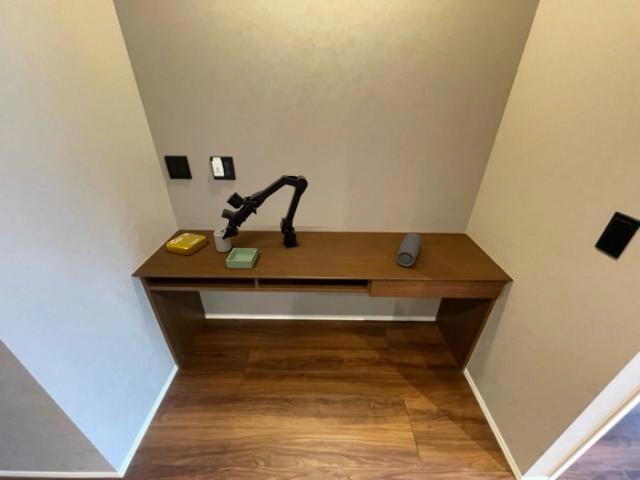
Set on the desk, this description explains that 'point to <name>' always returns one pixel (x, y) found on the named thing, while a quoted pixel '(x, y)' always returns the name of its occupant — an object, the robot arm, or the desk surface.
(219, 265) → the desk surface
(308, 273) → the desk surface
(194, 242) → the element tile
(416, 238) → the bluetooth speaker
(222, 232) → the can
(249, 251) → the tray
